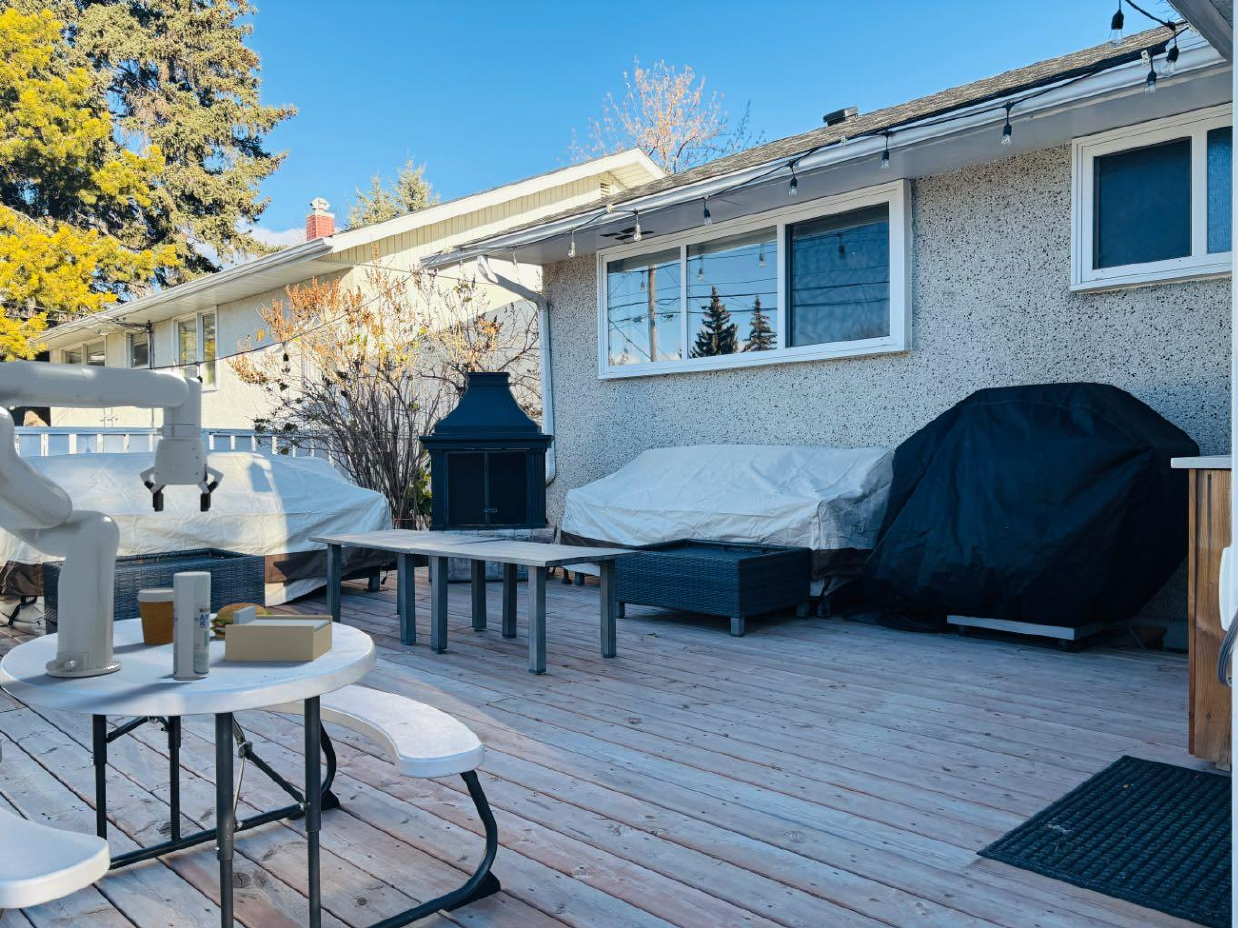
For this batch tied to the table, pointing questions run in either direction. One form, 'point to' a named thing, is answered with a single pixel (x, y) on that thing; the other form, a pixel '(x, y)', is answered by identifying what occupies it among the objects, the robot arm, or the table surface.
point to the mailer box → (278, 640)
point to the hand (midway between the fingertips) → (181, 511)
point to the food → (231, 617)
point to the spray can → (191, 625)
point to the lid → (249, 618)
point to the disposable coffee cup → (157, 615)
